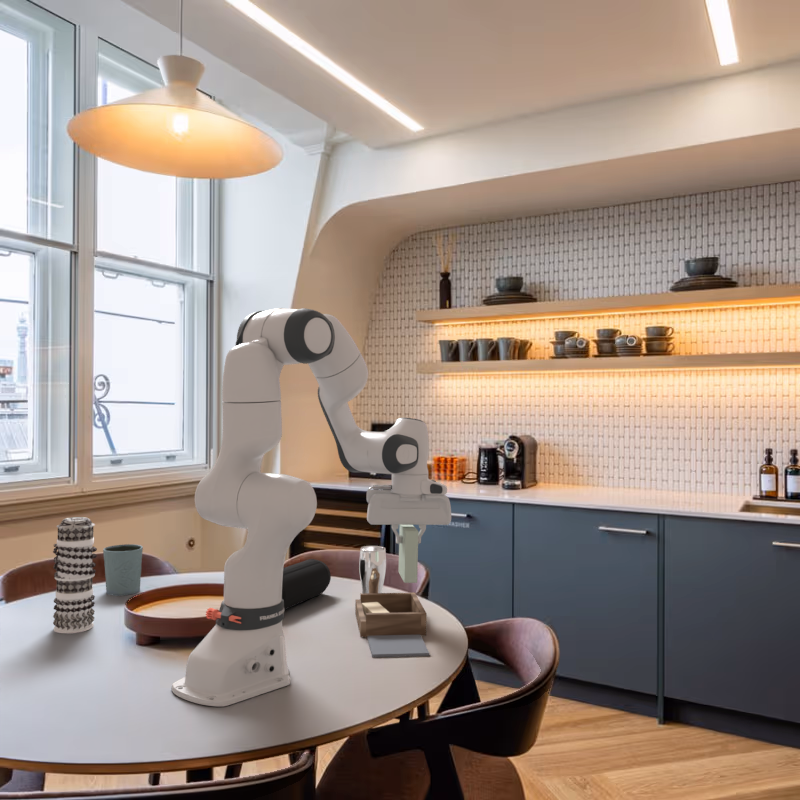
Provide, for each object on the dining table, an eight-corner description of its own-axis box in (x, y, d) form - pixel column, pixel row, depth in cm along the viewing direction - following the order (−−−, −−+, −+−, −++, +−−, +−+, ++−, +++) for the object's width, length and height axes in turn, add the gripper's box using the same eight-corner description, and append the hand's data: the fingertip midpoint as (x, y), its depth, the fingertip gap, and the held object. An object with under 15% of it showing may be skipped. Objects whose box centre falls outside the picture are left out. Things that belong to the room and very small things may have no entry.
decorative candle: (42, 632, 161) (44, 520, 161) (70, 620, 170) (72, 514, 170) (77, 635, 159) (79, 523, 159) (103, 623, 168) (106, 516, 168)
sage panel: (417, 582, 166) (418, 531, 167) (404, 582, 166) (405, 531, 166) (410, 572, 177) (411, 523, 178) (398, 572, 177) (399, 523, 177)
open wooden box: (426, 635, 163) (426, 613, 163) (360, 636, 161) (360, 614, 161) (414, 612, 181) (414, 592, 181) (355, 613, 179) (355, 593, 179)
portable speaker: (303, 591, 200) (303, 555, 200) (333, 595, 196) (334, 559, 196) (245, 614, 177) (245, 574, 177) (277, 620, 173) (278, 579, 173)
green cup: (139, 595, 192) (139, 550, 192) (98, 597, 190) (99, 551, 190) (144, 586, 202) (145, 543, 202) (106, 587, 200) (106, 544, 200)
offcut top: (391, 623, 166) (391, 614, 166) (375, 625, 165) (375, 615, 165) (377, 610, 177) (377, 601, 177) (361, 612, 175) (361, 603, 175)
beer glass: (384, 610, 183) (385, 551, 183) (357, 609, 183) (358, 550, 183) (385, 602, 190) (386, 545, 190) (359, 601, 190) (360, 545, 190)
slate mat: (429, 655, 150) (429, 652, 150) (372, 657, 149) (372, 654, 149) (420, 637, 162) (420, 634, 162) (367, 638, 161) (367, 635, 161)
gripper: (367, 486, 168) (366, 545, 167) (453, 487, 170) (452, 545, 170) (365, 483, 174) (364, 540, 174) (448, 484, 176) (447, 540, 176)
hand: (408, 543), depth 172 cm, fingers closed on sage panel, 3 cm apart
